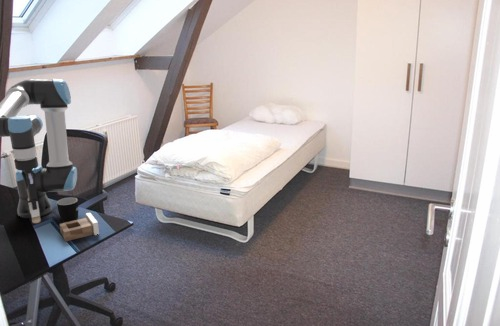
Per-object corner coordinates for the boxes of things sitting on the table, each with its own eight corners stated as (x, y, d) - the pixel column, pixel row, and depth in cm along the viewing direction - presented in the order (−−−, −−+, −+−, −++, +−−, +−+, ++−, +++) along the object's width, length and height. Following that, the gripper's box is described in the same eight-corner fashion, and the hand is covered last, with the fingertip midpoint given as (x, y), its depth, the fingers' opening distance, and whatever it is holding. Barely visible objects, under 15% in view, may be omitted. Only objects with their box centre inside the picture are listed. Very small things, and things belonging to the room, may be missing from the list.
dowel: (31, 220, 156) (26, 188, 151) (40, 219, 158) (35, 186, 153) (32, 223, 154) (27, 190, 149) (41, 222, 155) (36, 189, 151)
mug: (80, 222, 186) (78, 203, 183) (59, 226, 182) (56, 206, 179) (79, 212, 196) (77, 193, 193) (59, 215, 192) (56, 196, 189)
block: (60, 232, 176) (59, 223, 174) (87, 226, 182) (86, 217, 181) (65, 241, 169) (64, 232, 167) (93, 234, 175) (92, 225, 174)
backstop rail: (86, 225, 184) (85, 213, 182) (91, 224, 185) (90, 212, 183) (94, 235, 174) (93, 223, 173) (99, 234, 176) (97, 222, 174)
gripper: (11, 153, 151) (21, 209, 158) (17, 165, 139) (27, 225, 146) (33, 150, 155) (41, 205, 163) (40, 161, 143) (49, 219, 151)
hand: (34, 214), depth 155 cm, fingers closed on dowel, 3 cm apart
